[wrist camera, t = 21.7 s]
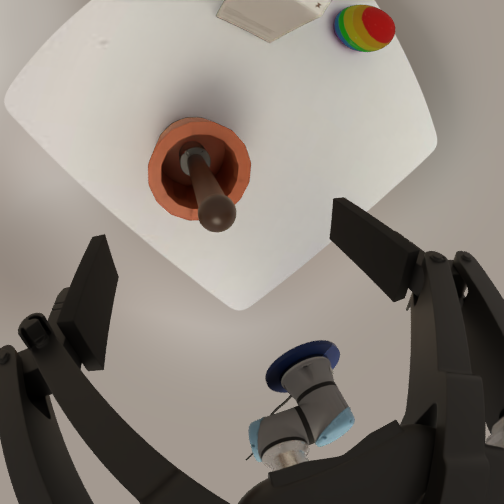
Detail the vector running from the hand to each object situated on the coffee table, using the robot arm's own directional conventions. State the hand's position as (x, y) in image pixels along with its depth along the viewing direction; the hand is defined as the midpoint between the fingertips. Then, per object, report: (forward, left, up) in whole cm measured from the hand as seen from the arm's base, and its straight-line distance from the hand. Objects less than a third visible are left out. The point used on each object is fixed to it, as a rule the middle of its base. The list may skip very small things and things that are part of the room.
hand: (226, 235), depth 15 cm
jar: (0, 0, -25) cm, 25 cm away
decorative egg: (+30, -12, -26) cm, 41 cm away
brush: (0, 0, -25) cm, 25 cm away
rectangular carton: (+24, +2, -26) cm, 35 cm away
